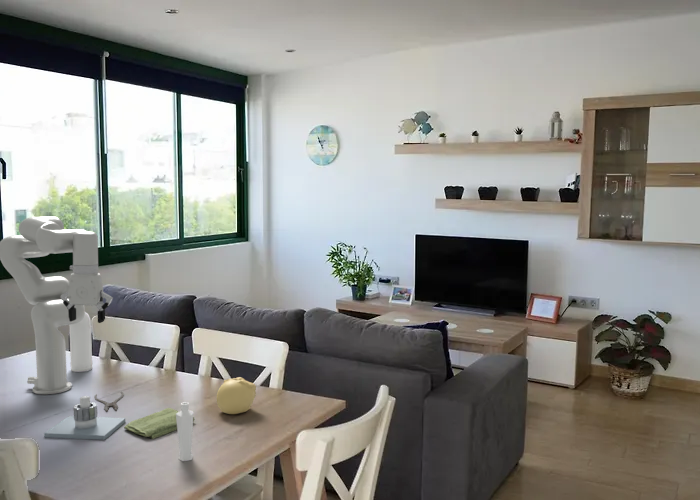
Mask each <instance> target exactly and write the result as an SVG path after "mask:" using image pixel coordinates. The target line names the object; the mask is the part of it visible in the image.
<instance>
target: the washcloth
mask: <svg viewBox="0 0 700 500" xmlns="http://www.w3.org/2000/svg"><path fill="white" fill-rule="evenodd" d="M178 412H179V411H178V410H177V409H174V408H171V407H167V408H164V409H162V410H160V411H157V412H154V413H151V414H148V415H146V416H143V417H140V418H137V419H135V420H132V421H129V422H127V424H126V425H125V426H124V430H126V431H129V432H132V433H134V434H136V435H138V436H139V435H140V436H143V437H145V438H150V439H152V440H154V439H156V438H159V437H161V436H164V435H167V434H170V433H172V432H174V431H177V421H176V413H178ZM194 421H195V417H194V416H193V423H194Z"/></svg>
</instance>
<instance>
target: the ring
mask: <svg viewBox="0 0 700 500" xmlns="http://www.w3.org/2000/svg"><path fill="white" fill-rule="evenodd" d="M72 408H73V410H72V411H73V416H74V420H76V421H88V420H92V419H95V418H96V417H98V403H96V402H91V401H90V407H89V408H80V402H79V403H76V404H75V405H73V407H72Z"/></svg>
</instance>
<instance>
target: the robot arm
mask: <svg viewBox="0 0 700 500" xmlns="http://www.w3.org/2000/svg"><path fill="white" fill-rule="evenodd" d="M18 232H19V235H18V234H17V235H11V236H7V237H5V238H2V239H1V240H0V262H1V264H2V266H3V267H4V268H5V270H6V271H7V272H8V273H9V275H11V276H12V278H13V279H14V280H15V282H16V284H17V287H18V288H19V290H20V292H21V293H22V295H23V297H24V299H25V300H26V302H27V303H28V304H30V305H32V308H31V311H30V318H31V322H32V326H33V332H34V342H35V358H36V364H35V365H36V377H35V376H28V377H27V381H26V382H27V384H28V385H30V384H31V385H34V386H33V387H32V392H33V393H35V394H36V395H54V394H60V393H64V392H67V391H69V390H71V389H72V387H73V383H71V382H70V381H68V377H67V375H68V374H67V351H66V338H65V336H64V334H63V333H62V332H61V330H59V328H60V327H64V326H69V325H71V324H75V323H78V322H80V321H82V320H83V318H84V315H85V312H86V311H85V310H84V307H85V306H92V307H93V306H96V308H97V309H98V310H97V323H98V324H101V323H103V322H105V320H106V309H107V308H108V307H109V306H110V305H111V303H112V302H113V299H114V297H113V296H111V295H110V294H108V293H106V292H104V286H103V280H102V275H101V273H99V242H98V241H99V239H98V235H97V233H96V232H94V231H90V230H89V231H88V230H85V229H82V228H80V229H79V228H78V229H77V228H76V229H74V228H73V229H65V226H64V223H63V221H62V220H61V219H60V218H59V217H57V216H49V215H48V216H29V217H27V218H24V219H23V220H22V221H21V222H20V223H19V226H18ZM65 253H68V254H69V253H72V265H70V266H69V270H71V271H72V273H70V276H69V279H67V278H66V277H65V276H61V275H60V276H59V275H56V276H44V275H43V274H42V273H41V271H40V269H39V268H38V267H37V265H35V264H33V263H32V262H31V261H28V260H26V259H29V258H30V259H31V258H40V257H46V256H48V255H50V254H65ZM104 300H105V302H104ZM83 305H84V306H83Z"/></svg>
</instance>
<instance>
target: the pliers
mask: <svg viewBox="0 0 700 500" xmlns="http://www.w3.org/2000/svg"><path fill="white" fill-rule="evenodd" d="M120 394H121V396H120V397H118V398H116V399H115V400H113V401H112V402H107V401H105V400H102V399H99V398H98V394H97V393H95V395H94V396H93V397H94V400H95V401H97V402H99V403H102V404H103V405H104V406H103V410H104V411H105V412H106V413H108V412H109V409H110V408H113V410H114V411H115V412H117V411H118V410H119V409H118V408H119V406H118V405H117V403H118V402H119V401H120V400H121V399H123V398H124V397H125V396H124V395H125V393H124V392H123V391H120Z"/></svg>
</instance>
